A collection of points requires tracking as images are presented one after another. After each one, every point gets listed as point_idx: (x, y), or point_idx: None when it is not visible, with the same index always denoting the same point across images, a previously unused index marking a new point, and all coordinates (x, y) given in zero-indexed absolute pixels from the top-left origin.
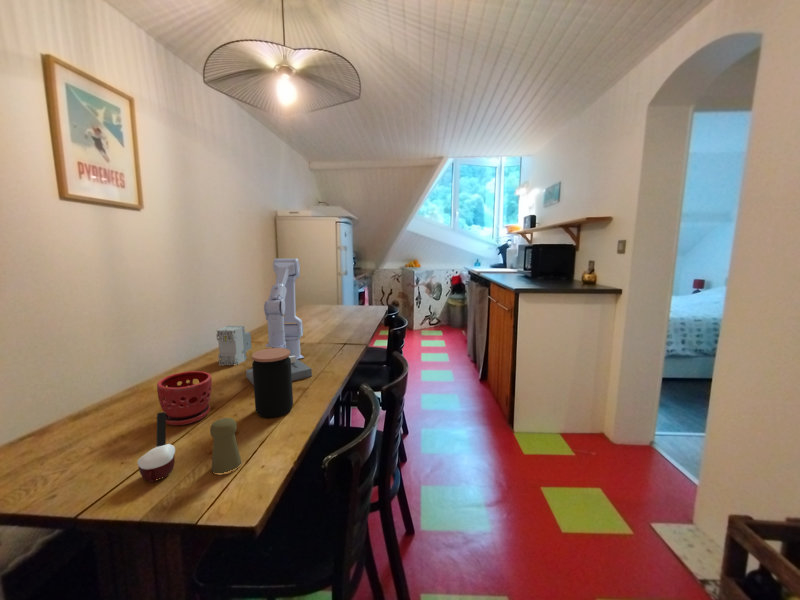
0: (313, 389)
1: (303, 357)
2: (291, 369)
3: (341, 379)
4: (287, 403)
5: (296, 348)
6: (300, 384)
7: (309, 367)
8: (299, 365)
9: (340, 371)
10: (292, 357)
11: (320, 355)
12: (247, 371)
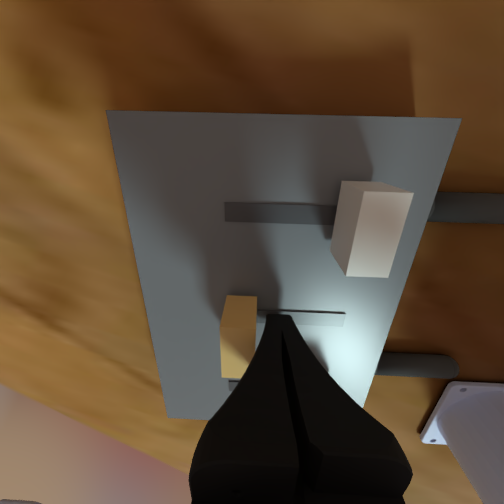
0: (29, 335)
1: (420, 438)
2: (215, 359)
3: (91, 426)
4: None
5: (479, 489)
6: (108, 320)
7: (190, 418)
8: None
9: (170, 450)
10: None
11: None
12: (407, 117)
